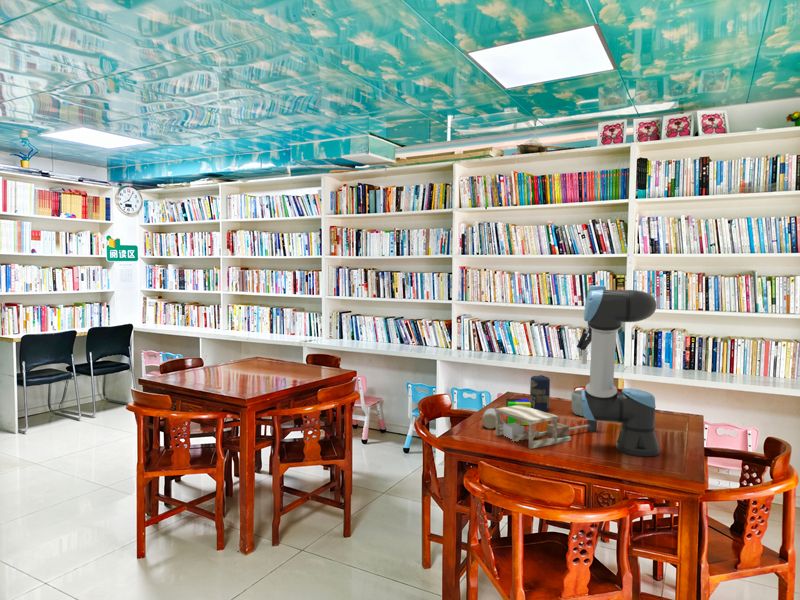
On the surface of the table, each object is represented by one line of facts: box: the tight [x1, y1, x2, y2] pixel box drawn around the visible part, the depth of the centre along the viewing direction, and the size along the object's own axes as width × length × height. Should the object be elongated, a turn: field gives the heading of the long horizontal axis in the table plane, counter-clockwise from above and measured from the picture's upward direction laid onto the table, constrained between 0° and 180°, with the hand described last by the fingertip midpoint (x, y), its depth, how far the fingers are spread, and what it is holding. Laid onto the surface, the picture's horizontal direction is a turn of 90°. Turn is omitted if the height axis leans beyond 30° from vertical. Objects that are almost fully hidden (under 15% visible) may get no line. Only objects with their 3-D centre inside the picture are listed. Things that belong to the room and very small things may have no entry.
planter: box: [571, 389, 584, 417], centre depth 259 cm, size 12×12×11 cm
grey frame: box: [546, 419, 598, 439], centre depth 227 cm, size 25×6×12 cm, turn 118°
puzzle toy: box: [505, 398, 531, 425], centre depth 245 cm, size 10×10×10 cm
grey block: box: [502, 423, 525, 440], centre depth 223 cm, size 6×6×5 cm
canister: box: [529, 374, 551, 412], centre depth 268 cm, size 10×10×18 cm
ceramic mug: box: [481, 407, 507, 430], centre depth 237 cm, size 11×8×8 cm
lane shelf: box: [494, 405, 572, 450], centre depth 221 cm, size 22×22×11 cm
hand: (595, 365), depth 242 cm, fingers open, 13 cm apart
